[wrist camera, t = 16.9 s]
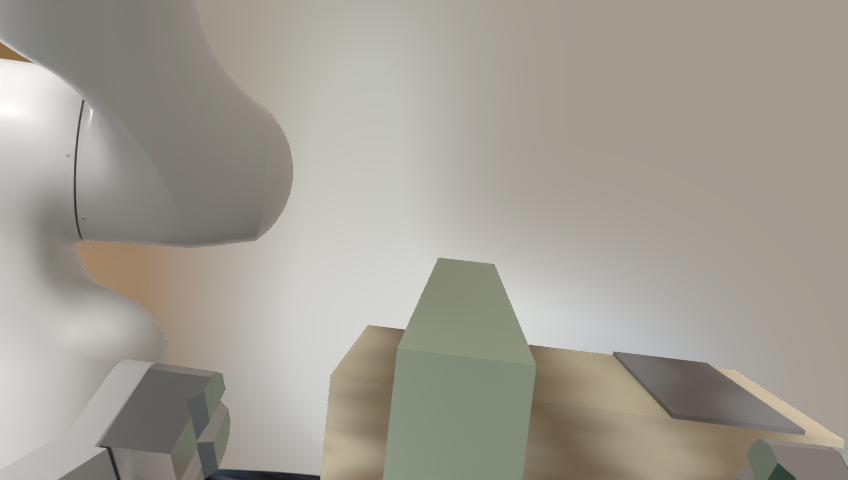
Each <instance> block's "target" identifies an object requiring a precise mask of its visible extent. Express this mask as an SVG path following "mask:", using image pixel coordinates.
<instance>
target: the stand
mask: <svg viewBox="0 0 848 480" xmlns="http://www.w3.org/2000/svg"><path fill="white" fill-rule="evenodd" d="M404 332H405V330H404V329H395V328H387V327H378V326H370V325H368V326H367V327H366V329H365V330H364V331H363V333H362V334H361V335H360V337H359V338H358V339H357V341H356V342H355V343H354V345H353V346H352V347H351V349H350V350H349V351H348V353H347V354H346V355H345V357H344V358H343V359H342V361H341V362H340V363H339V365H338V366H337V368H336V369H335V370H334V371H333V373H332V374H331V377H330V388H329V397H328V407H327V416H326V426H325V436H324V447H323V456H322V466H321V476H320V480H383V474H384V465H385V456H386V446H387V437H388V428H389V419H390V410H391V400H392V391H393V382H394V373H395V364H396V354H397V347H398V345H399V343H400V341H401V339H402V336H403V334H404ZM528 346H529V349H530V351H531V353H532V356H533V358H534V361H535V363H536V365H537V366H536V374H535V381H534V389H533V397H532V405H531V413H530V421H529V429H528V437H527V445H526V453H525V461H524V469H523V477H522V480H733V479H734V477H735V475H736V473H738V472H740V471H741V470H743V469H745V468H747V467H749V466H750V463H749V460H748V458H747V455H746V454H747V452H748V450H749V448H750V447H751V445H752V443H753V442H755V441H757V440H758V439H760V438H761V439H770V440H779V441H788V442H797V443H805V444H814V445H823V446H827V447H838V448H843V447H844V440H843V439H841V438H840V437H838V436H837V435H835V434H834V433H832V432H830V431H829V430H827V429H826V428H824V427H823V426H821V425H820V424H818V423H816V422H815V421H813V420H812V419H810V418H809V417H807V416H806V415H804V414H802V413H801V412H799V411H798V410H796V409H795V408H793V407H792V406H790V405H788V404H787V403H785V402H783V401H782V400H781V399H779V398H777V397H776V396H774V395H773V394H771V393H770V392H768V391H766V390H765V389H763V388H762V387H760V386H759V385H757V384H755V383H754V382H752V381H751V380H749V379H748V378H746V377H745V376H743V375H742V374H740V373H738V372H737V371H735V370H730V369H721V368H714V367H712V366H710V365H709V364H708V363H703V362H695V361H687V360H678V359H670V358H662V357H653V356H645V355H637V354H629V353H621V352H613V355H607V354H599V353H591V352H583V351H575V350H566V349H558V348H550V347H542V346H534V345H528Z"/></svg>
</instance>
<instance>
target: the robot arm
mask: <svg viewBox="0 0 848 480" xmlns="http://www.w3.org/2000/svg"><path fill="white" fill-rule="evenodd" d="M0 42H1V43H3V44H4V45H6V46H7V47H9V48H10V49H12V50H13V51H15V52H17V53H19V54H20V55H22V56H23V57H25V58H27V59H29V60H30V61H32V62H34V63H28V62H21V61H14V60H7V59H1V58H0V480H204V479H205V478H206V477H207V476H209V475H210V474H211V473H213V472H214V471H216V470H217V469H218V467H219V465H220V462H221V460H222V458H223V455H224V453H225V449H226V445H227V441H228V437H229V428H230V418H229V410H228V408H227V407H226V406H225V405H224V404H223V403H222V402H221V401H220V399H221V397H222V395H223V393H224V391H225V385H224V380H223V375H222V374H221V373H218V372H213V371H207V370H200V369H193V368H187V367H180V366H174V365H167V364H166V359H167V341H166V338H165V334H164V332H163V330H162V328H161V327H160V324H159V323H158V321H157V320H156V319H155V318H154V317H153V316H152V315H151V314H150V313H149V312H148V311H147V310H145V309H144V308H143V307H142V306H140V305H139V304H137V303H135V302H134V301H132V300H130V299H129V298H127V297H124V296H123V295H121V294H119V293H117V292H115V291H113V290H110V289H108V288H106V287H105V286H103V285H101V284H100V283H98V282H97V281H95V280H94V279H93V278H92V277H91V276H90V275H89V274H88V272H87V271H86V269H85V268H84V266H83V264H82V263H81V260H80V258H79V255H78V250H77V242H80V241H87V240H89V241H103V242H116V243H129V244H143V245H156V246H170V247H183V248H193V247H205V246H215V245H225V244H232V243H240V242H248V241H255V240H257V239H258V238H259V237H261V236H262V235H263V234H264V233H266V232H267V231H268V230H269V228H271V227H272V225H273V224H274V223H275V222H276V221H277V219H278V218H279V216H280V215H281V213H282V211H283V209H284V207H285V205H286V203H287V200H288V198H289V195H290V191H291V186H292V180H293V162H292V156H291V151H290V148H289V144H288V141H287V139H286V136H285V134H284V132H283V130H282V129H281V127H280V125H279V124H278V123H277V121H276V119H275V118H274V117H273V115H272V114H271V113H270V112H269V111H268V110H267V109H266V108H265V107H263V106H261V105H260V104H259V103H257V102H256V101H255V100H254V99H252V98H251V97H250V96H249V95H247V94H246V93H245V92H244V91H243V90H242V89H241V88H240V87H239V86H238V85H237V84H236V83H235V82H234V80H233V79H232V78H231V77H230V76H229V75H228V74H227V72H226V71H225V70H224V68H223V67H222V65H221V64H220V62H219V61H218V59H217V58H216V56H215V54H214V53H213V51H212V49H211V47H210V45H209V43H208V41H207V39H206V36H205V34H204V32H203V29H202V27H201V23H200V20H199V17H198V12H197V8H196V1H195V0H0ZM35 63H36V64H35ZM746 455H747V458H748V460H749V463H750V466H749V467H747V468H745V469H743V470H741V471H740V472H738V473H736V475H735V477H734V479H733V480H848V449H846V448H838V447H827V446H823V445H814V444H805V443H797V442H788V441H779V440H770V439H761V438H760V439H758V440H757V441H755V442H753V443H752V445H751V447H750V448H749V450H748V452H747V454H746Z"/></svg>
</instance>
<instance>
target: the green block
mask: <svg viewBox="0 0 848 480" xmlns="http://www.w3.org/2000/svg"><path fill="white" fill-rule="evenodd" d="M536 366H537V365H536V363H535V361H534V358H533V356H532V353H531V351H530V349H529V346H528V344H527V341H526V339H525V337H524V334H523V332H522V329H521V327H520V325H519V322H518V320H517V317H516V315H515V312H514V310H513V308H512V305H511V303H510V300H509V298H508V296H507V293H506V291H505V289H504V286H503V284H502V281H501V279H500V276H499V274H498V272H497V269H496V267H495V265H494V264H488V263H479V262H471V261H462V260H454V259H445V258H438V260H437V262H436V264H435V267H434V269H433V271H432V273H431V276H430V277H429V280H428V282H427V284H426V286H425V288H424V291H423V293H422V295H421V297H420V299H419V302H418V304H417V306H416V308H415V310H414V312H413V315H412V317H411V319H410V321H409V324H408V326H407V328H406V330H405V332H404V334H403V336H402V339H401V341H400V343H399V345H398V347H397V354H396V364H395V373H394V382H393V391H392V400H391V410H390V419H389V428H388V437H387V446H386V456H385V465H384V474H383V480H522V477H523V469H524V461H525V453H526V445H527V437H528V429H529V421H530V413H531V405H532V397H533V389H534V381H535V374H536Z"/></svg>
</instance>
